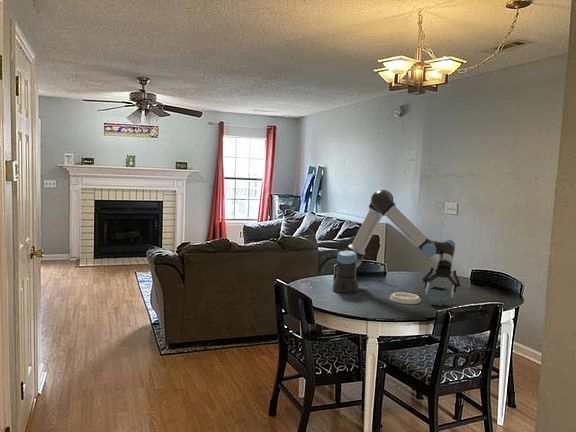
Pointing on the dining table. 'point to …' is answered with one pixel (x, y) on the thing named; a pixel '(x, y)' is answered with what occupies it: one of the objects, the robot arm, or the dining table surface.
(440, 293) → the flower pot
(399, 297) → the plant saucer
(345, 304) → the dining table surface
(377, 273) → the dining table surface
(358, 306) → the dining table surface
